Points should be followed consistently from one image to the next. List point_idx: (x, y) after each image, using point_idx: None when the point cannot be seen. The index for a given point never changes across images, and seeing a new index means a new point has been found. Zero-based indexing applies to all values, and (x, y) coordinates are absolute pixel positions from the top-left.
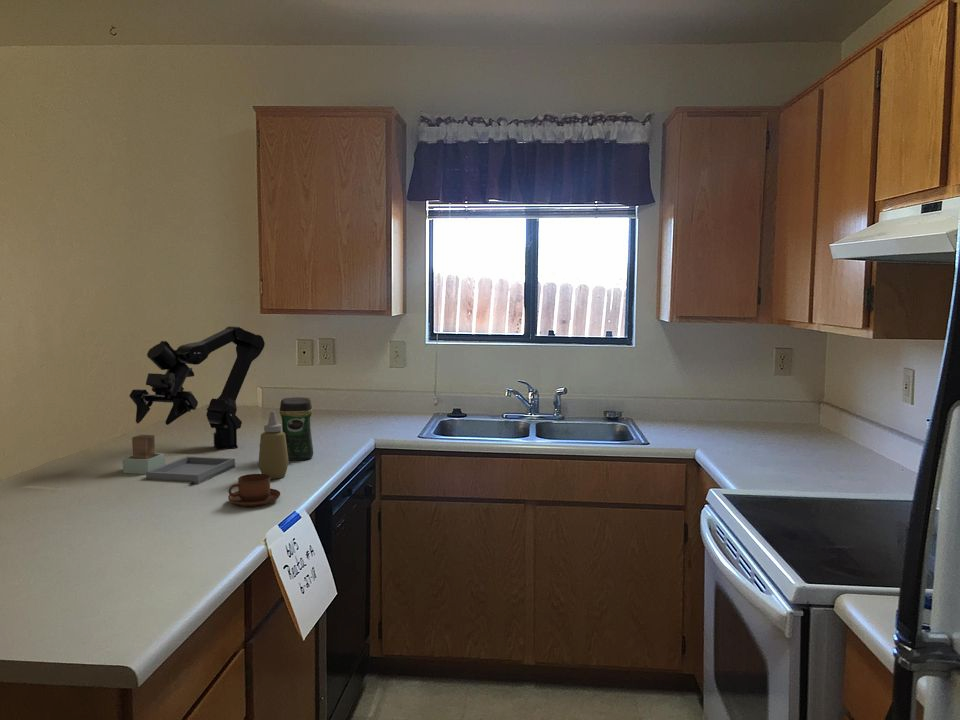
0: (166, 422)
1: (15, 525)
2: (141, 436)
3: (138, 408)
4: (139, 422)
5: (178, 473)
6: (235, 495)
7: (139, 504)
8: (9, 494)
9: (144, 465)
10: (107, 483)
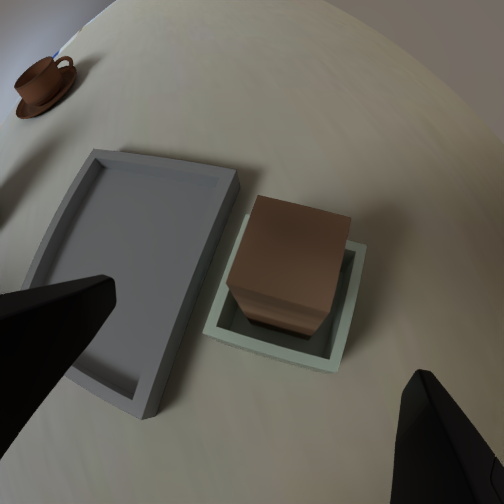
0: (103, 275)
1: (346, 16)
2: (301, 242)
3: (494, 481)
4: (400, 408)
5: (136, 158)
6: (66, 69)
7: (206, 57)
8: (486, 125)
9: None
10: (348, 171)
